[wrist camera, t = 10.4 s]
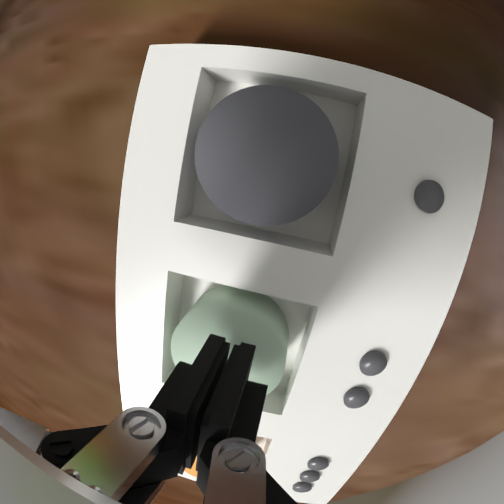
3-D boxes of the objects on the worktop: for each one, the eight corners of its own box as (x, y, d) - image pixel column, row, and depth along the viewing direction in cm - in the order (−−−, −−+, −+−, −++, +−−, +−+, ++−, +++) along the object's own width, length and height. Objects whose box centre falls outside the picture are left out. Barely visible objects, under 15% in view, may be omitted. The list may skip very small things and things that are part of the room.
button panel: (177, 65, 12) (147, 43, 9) (460, 126, 11) (495, 118, 8) (146, 430, 19) (129, 458, 16) (326, 473, 18) (325, 506, 15)
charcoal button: (225, 93, 11) (209, 77, 9) (341, 113, 11) (350, 100, 9) (205, 203, 13) (184, 210, 10) (317, 227, 12) (321, 240, 10)
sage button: (195, 273, 14) (174, 293, 11) (300, 298, 13) (299, 324, 11) (185, 357, 15) (168, 384, 13) (276, 381, 14) (270, 412, 12)
